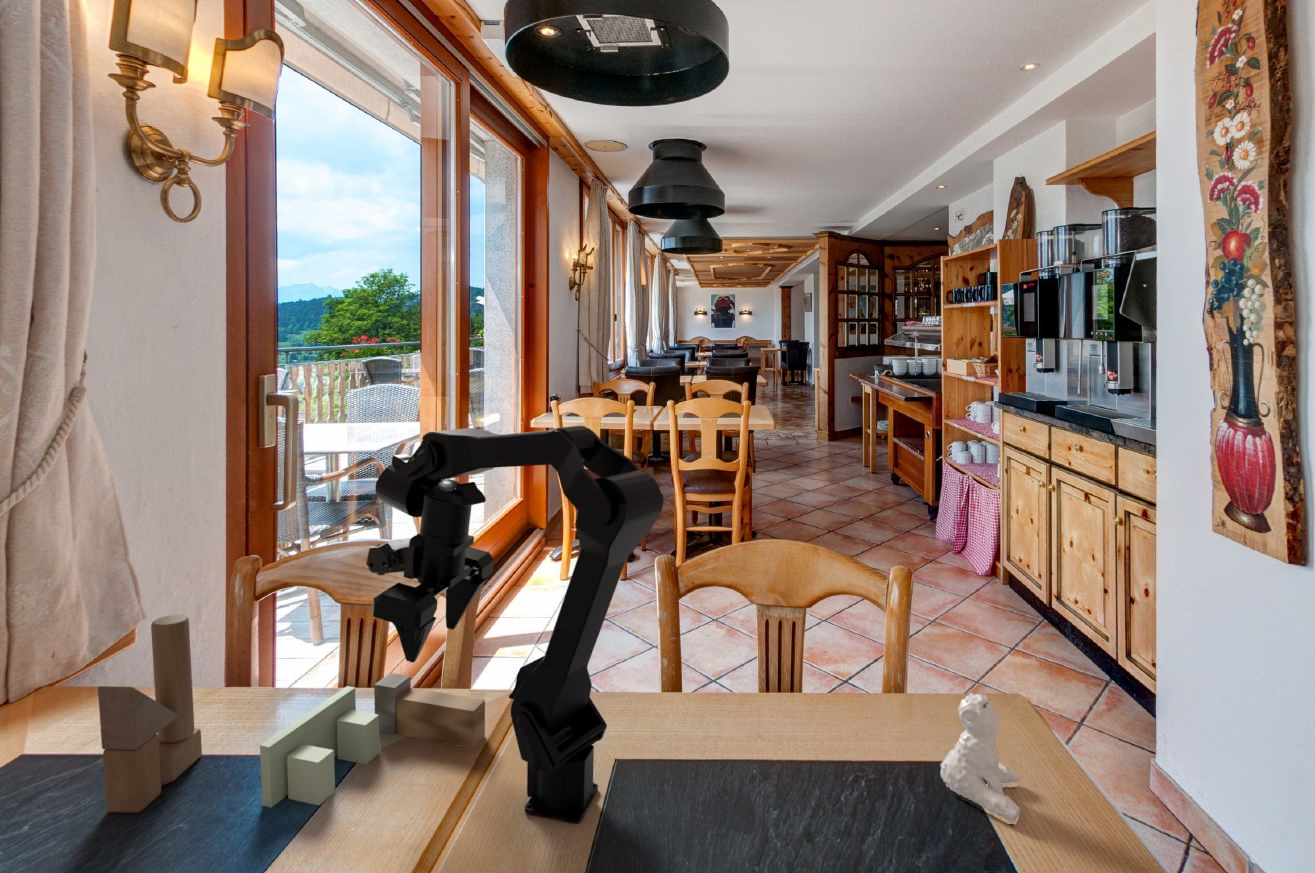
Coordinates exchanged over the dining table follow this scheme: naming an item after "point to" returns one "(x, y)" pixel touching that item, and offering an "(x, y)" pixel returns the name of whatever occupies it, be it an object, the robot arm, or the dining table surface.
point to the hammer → (428, 713)
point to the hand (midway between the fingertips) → (431, 643)
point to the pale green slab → (317, 750)
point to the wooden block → (150, 723)
